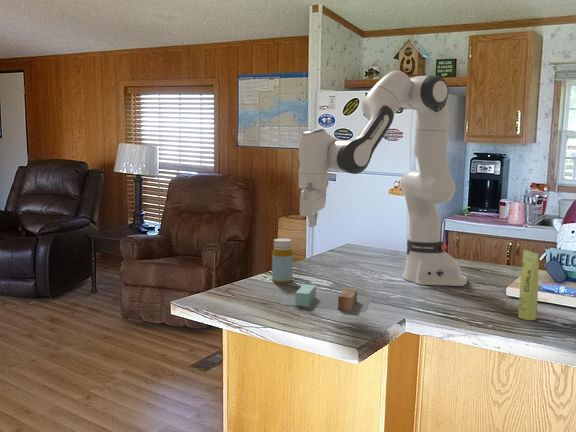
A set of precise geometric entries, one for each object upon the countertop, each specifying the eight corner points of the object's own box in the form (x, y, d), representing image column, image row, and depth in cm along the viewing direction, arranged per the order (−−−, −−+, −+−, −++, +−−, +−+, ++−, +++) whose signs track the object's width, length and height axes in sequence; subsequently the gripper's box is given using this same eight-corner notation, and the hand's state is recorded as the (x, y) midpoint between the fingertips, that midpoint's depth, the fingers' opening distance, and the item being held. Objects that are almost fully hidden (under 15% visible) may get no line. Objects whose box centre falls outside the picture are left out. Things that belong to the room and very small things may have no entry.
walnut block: (357, 288, 178) (351, 297, 168) (356, 301, 178) (351, 310, 169) (344, 287, 179) (338, 296, 169) (344, 300, 180) (338, 309, 170)
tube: (513, 317, 165) (517, 250, 163) (519, 313, 169) (523, 248, 166) (533, 322, 162) (538, 253, 159) (539, 317, 166) (544, 251, 163)
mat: (372, 298, 183) (372, 297, 183) (365, 313, 168) (365, 312, 168) (293, 291, 190) (293, 290, 190) (279, 305, 175) (279, 304, 175)
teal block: (316, 285, 181) (308, 293, 172) (315, 297, 182) (308, 306, 172) (303, 284, 182) (295, 292, 173) (303, 296, 183) (295, 305, 174)
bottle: (290, 285, 198) (290, 242, 196) (270, 283, 200) (270, 241, 198) (294, 280, 205) (294, 238, 203) (274, 278, 207) (275, 237, 204)
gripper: (315, 185, 167) (315, 232, 170) (329, 179, 187) (329, 222, 189) (294, 184, 169) (294, 231, 171) (310, 179, 189) (310, 221, 191)
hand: (312, 226), depth 180 cm, fingers closed
